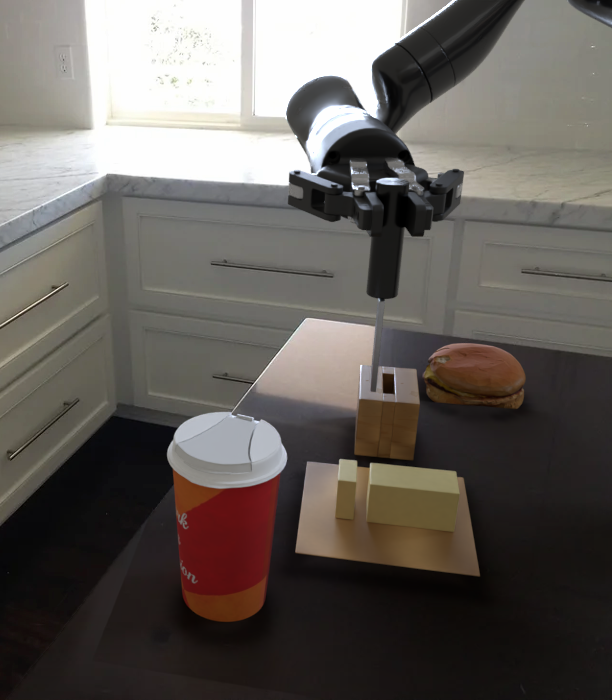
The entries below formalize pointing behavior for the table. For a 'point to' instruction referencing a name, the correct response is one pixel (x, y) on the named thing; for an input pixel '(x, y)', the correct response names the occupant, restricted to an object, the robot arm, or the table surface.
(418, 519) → the butter
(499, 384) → the burger
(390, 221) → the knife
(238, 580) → the paper cup
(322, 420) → the table surface
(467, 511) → the board
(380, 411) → the knife block
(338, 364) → the table surface
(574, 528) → the table surface
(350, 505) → the butter pat
